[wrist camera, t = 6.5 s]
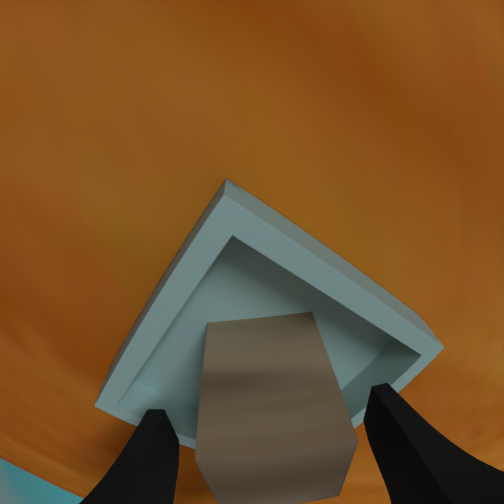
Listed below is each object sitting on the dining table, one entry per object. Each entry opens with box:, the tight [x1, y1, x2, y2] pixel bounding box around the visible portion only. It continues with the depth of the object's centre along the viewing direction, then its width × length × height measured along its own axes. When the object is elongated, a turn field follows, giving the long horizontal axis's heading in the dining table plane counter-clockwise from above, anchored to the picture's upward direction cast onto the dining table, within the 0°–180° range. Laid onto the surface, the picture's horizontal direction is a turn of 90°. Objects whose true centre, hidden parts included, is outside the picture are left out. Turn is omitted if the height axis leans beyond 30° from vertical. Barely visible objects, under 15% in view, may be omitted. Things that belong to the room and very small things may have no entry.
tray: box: [95, 178, 444, 449], centre depth 12 cm, size 11×11×2 cm
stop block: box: [195, 312, 358, 504], centre depth 10 cm, size 4×4×6 cm
